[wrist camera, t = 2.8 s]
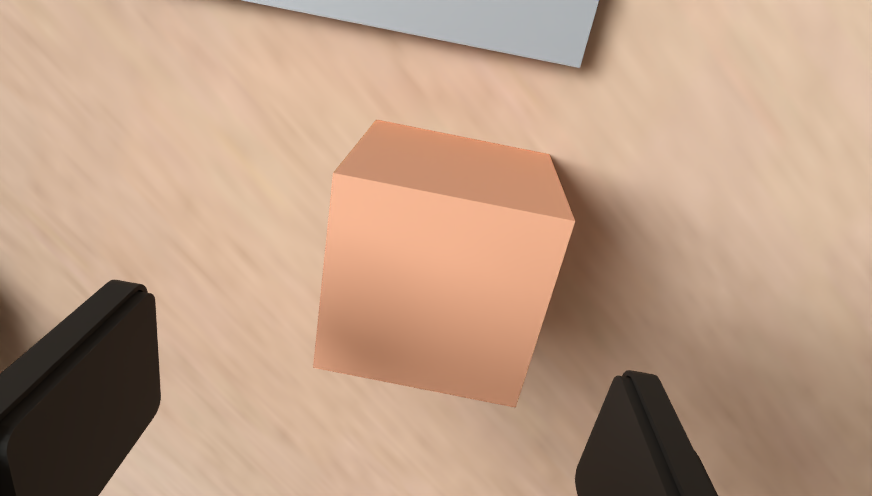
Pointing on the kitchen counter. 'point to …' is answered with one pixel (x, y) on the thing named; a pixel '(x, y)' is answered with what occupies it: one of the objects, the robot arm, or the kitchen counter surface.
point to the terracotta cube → (440, 262)
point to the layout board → (473, 22)
